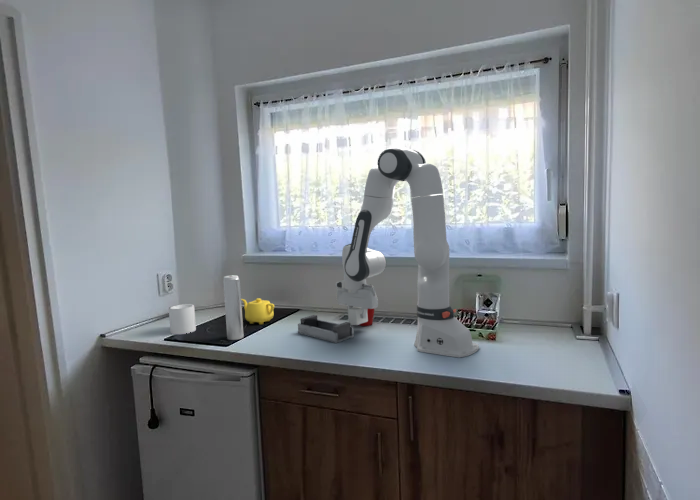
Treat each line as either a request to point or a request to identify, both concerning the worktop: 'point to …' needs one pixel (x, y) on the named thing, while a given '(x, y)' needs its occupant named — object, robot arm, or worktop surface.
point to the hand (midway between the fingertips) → (358, 317)
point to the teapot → (258, 311)
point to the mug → (182, 319)
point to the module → (356, 316)
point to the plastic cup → (369, 317)
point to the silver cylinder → (233, 307)
